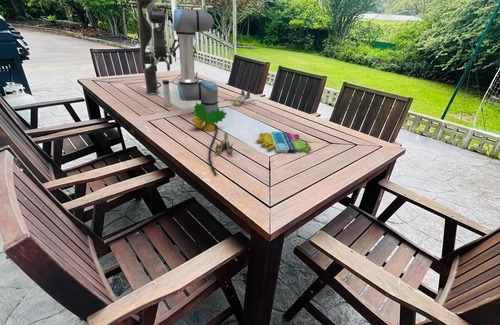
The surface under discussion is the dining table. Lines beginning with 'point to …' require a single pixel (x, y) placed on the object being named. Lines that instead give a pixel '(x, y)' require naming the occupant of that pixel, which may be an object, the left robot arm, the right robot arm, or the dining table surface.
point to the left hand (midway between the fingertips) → (162, 71)
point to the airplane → (195, 78)
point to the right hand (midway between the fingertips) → (184, 61)
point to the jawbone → (224, 145)
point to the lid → (165, 81)
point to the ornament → (207, 117)
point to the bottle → (166, 94)
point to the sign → (283, 142)
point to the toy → (241, 99)
